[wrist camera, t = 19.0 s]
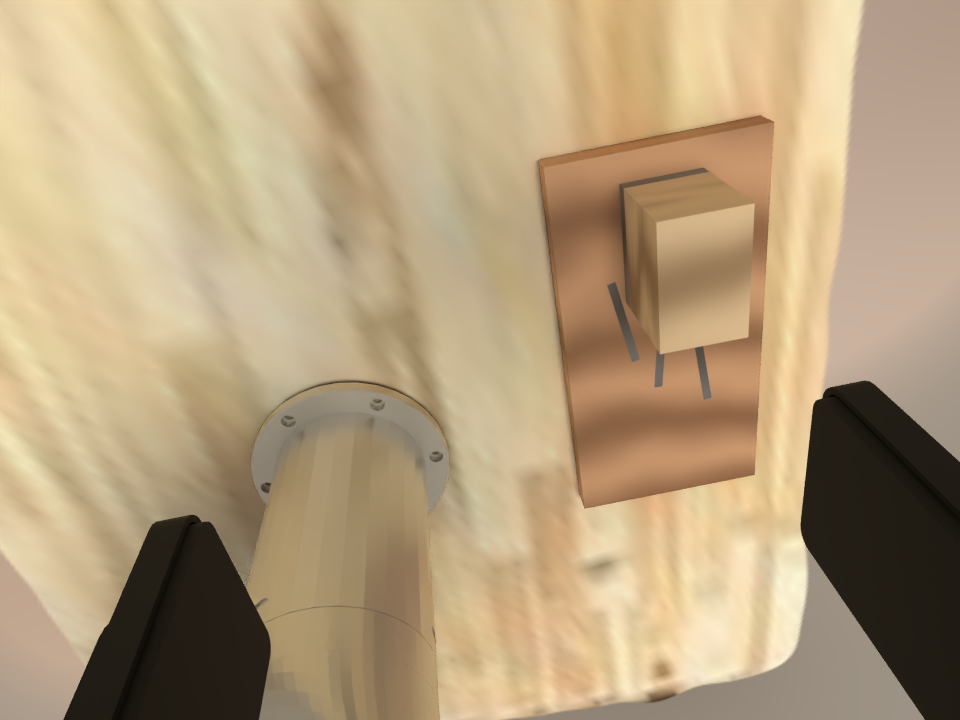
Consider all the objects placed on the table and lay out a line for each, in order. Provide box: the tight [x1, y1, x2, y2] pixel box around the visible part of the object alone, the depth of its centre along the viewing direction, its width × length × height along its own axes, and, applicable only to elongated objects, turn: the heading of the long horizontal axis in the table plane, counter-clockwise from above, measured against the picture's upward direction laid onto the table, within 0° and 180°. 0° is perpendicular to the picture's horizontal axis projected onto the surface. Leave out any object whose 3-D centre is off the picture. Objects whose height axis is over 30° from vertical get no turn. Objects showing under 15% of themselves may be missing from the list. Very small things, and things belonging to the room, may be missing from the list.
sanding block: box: [619, 168, 755, 354], centre depth 35 cm, size 7×4×6 cm, turn 9°
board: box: [539, 116, 774, 508], centre depth 42 cm, size 24×12×2 cm, turn 10°
